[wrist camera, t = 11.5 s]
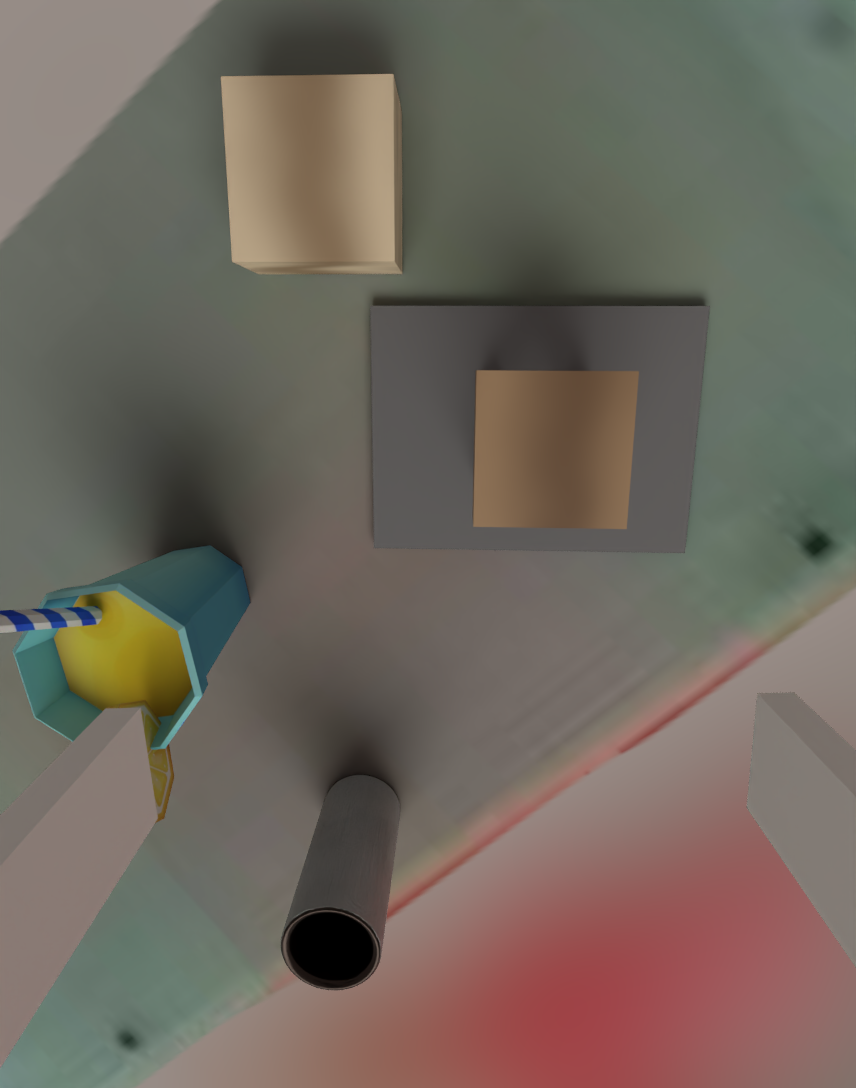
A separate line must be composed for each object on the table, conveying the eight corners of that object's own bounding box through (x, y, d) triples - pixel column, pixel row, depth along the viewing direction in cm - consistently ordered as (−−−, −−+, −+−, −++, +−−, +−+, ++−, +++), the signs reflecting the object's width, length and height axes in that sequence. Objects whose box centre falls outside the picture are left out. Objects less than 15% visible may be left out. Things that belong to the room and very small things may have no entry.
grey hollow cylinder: (390, 848, 41) (368, 1002, 31) (317, 830, 41) (271, 978, 31) (408, 783, 40) (391, 922, 30) (333, 765, 40) (290, 897, 30)
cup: (59, 505, 37) (-204, 594, 22) (173, 429, 35) (-26, 471, 21) (211, 710, 39) (65, 910, 25) (322, 646, 38) (237, 818, 24)
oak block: (258, 274, 33) (232, 261, 29) (250, 112, 32) (220, 76, 28) (402, 274, 33) (394, 261, 29) (401, 110, 31) (393, 74, 27)
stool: (470, 491, 35) (473, 526, 27) (472, 370, 33) (476, 370, 26) (589, 493, 35) (626, 528, 27) (597, 370, 33) (639, 371, 25)
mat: (375, 545, 36) (374, 547, 36) (372, 306, 33) (370, 305, 33) (681, 550, 36) (684, 552, 35) (705, 306, 33) (709, 306, 32)
